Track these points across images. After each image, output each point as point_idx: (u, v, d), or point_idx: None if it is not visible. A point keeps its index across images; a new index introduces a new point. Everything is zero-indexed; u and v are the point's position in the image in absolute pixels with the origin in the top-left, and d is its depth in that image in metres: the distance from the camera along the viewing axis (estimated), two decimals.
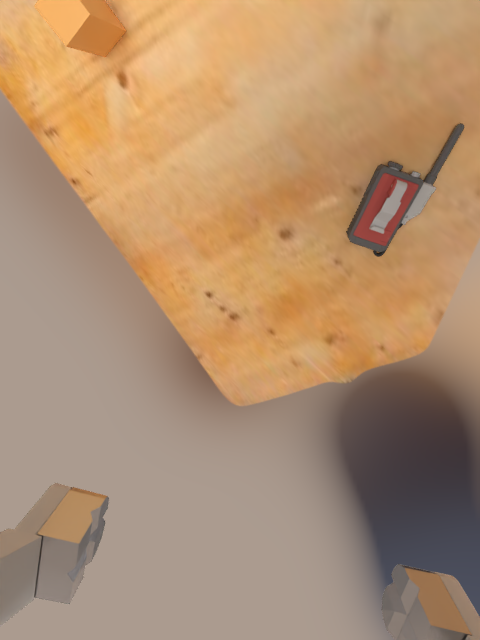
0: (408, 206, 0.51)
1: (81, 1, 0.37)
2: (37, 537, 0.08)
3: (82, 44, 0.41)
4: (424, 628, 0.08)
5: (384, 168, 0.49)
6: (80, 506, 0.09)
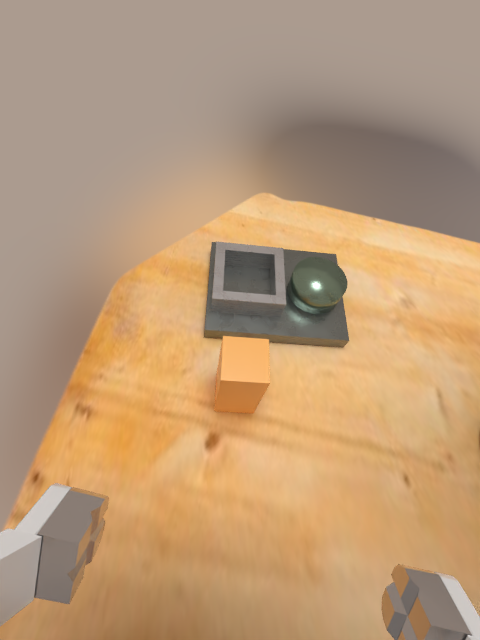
0: None
1: None
2: (37, 537, 0.08)
3: (226, 390, 0.33)
4: (424, 628, 0.08)
5: None
6: (80, 506, 0.09)
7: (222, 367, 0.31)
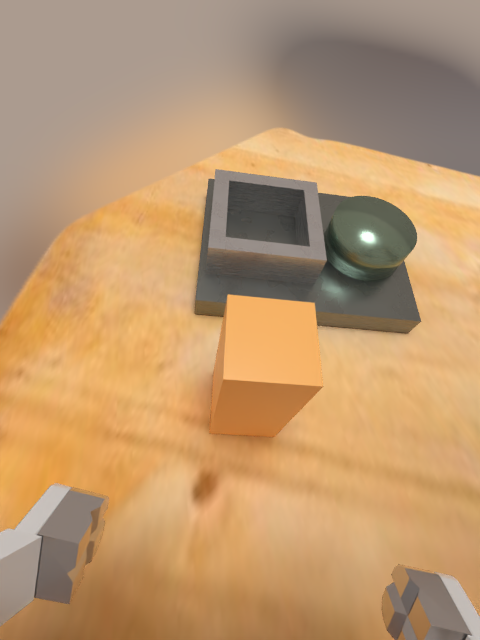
0: None
1: None
2: (37, 537, 0.08)
3: (234, 400, 0.17)
4: (424, 628, 0.08)
5: None
6: (80, 506, 0.09)
7: (226, 353, 0.15)
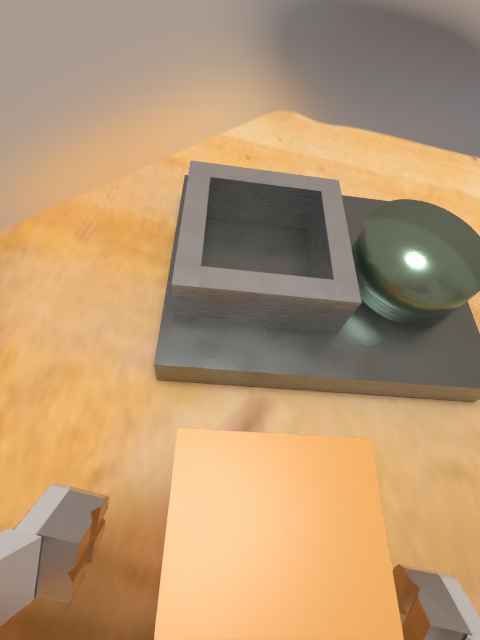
0: None
1: None
2: (37, 537, 0.08)
3: None
4: (424, 628, 0.08)
5: None
6: (80, 506, 0.09)
7: (162, 619, 0.06)
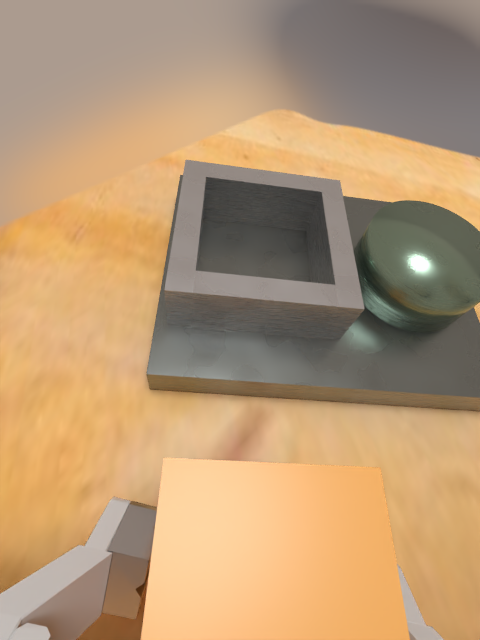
0: None
1: None
2: (107, 553, 0.08)
3: None
4: None
5: None
6: (142, 521, 0.09)
7: None
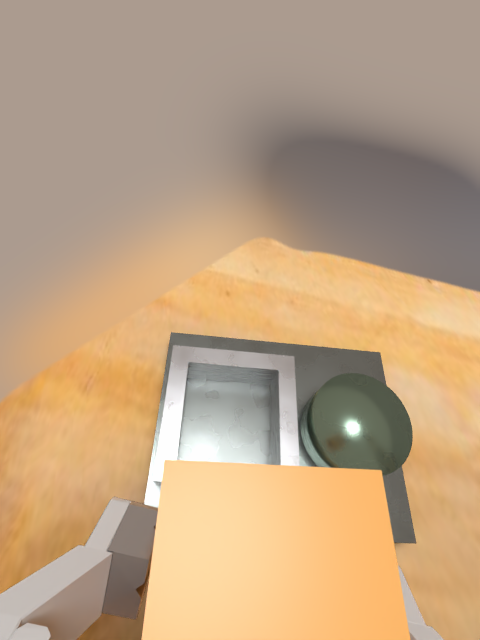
0: None
1: None
2: (108, 553, 0.08)
3: None
4: None
5: None
6: (142, 521, 0.09)
7: None
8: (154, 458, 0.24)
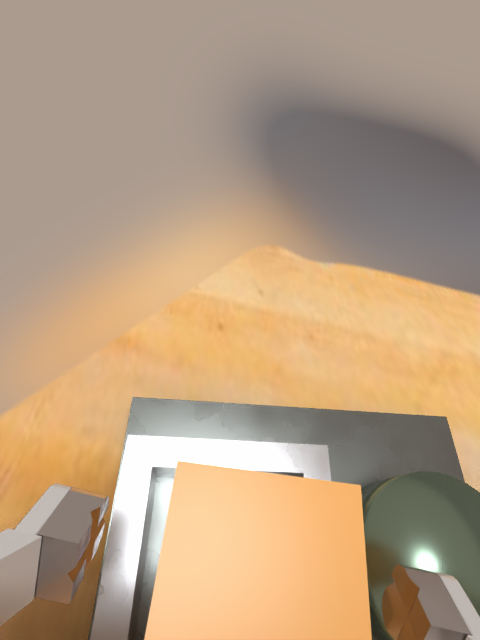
0: None
1: None
2: (37, 537, 0.08)
3: None
4: (424, 628, 0.08)
5: None
6: (80, 506, 0.09)
7: None
8: None
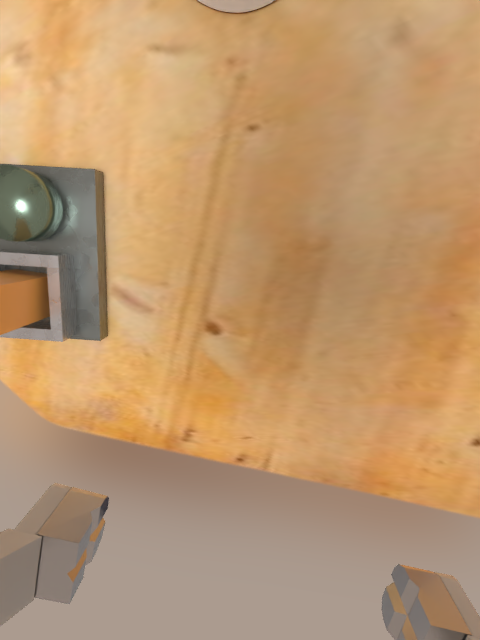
0: None
1: None
2: (37, 537, 0.08)
3: (10, 322, 0.32)
4: (424, 628, 0.08)
5: None
6: (80, 506, 0.09)
7: None
8: None
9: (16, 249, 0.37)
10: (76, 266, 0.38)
